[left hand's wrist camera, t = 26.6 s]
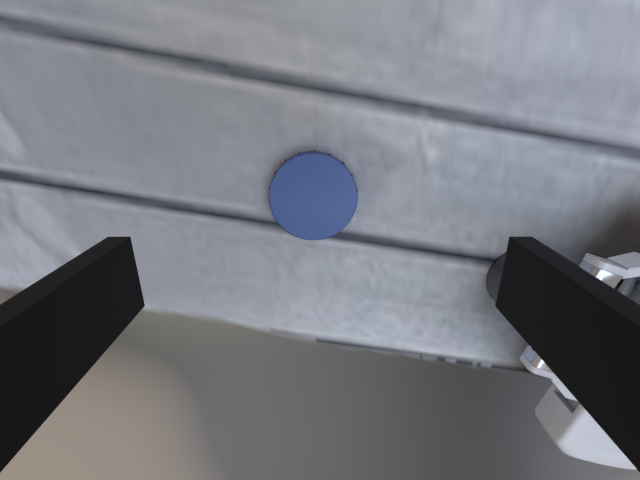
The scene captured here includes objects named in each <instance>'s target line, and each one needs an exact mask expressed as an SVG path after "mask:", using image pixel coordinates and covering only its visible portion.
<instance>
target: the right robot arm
mask: <svg viewBox="0 0 640 480" xmlns="http://www.w3.org/2000/svg"><path fill="white" fill-rule="evenodd" d="M579 267H581V268H582V269H584V270H585V271H587V272H588V273H590V274H592V275H593V276H595V277H596V278H598V279H600V280H601V281H603V282H604V283H606V284H608V285H609V286H611V287H612V288H615V287H616V286H617V284H618V283H619V282H620V280H621V279H625V280H624V281H623V283H622V284H621V286H620V287H619V289H618V290H617V291H619V292H620V293H622V294H623V295H625V296H627V297H628V298H630V299H631V300H633V301H635V302H636V303H638V304H639V305H640V253H637V252H631V253H626V254H622V255H617V256H613V257H608V258H607V259H604V258H601V257H598V256H595V255H592V254H589V253H586V255H585V256H584V258H583V259H582V261H581V263H580V264H579ZM519 359H520V361H521V362H522V363H523V364H524V366H525V367H526V368H527V369H528V370H529V371H531V372H532V373H534V374H537V375H540V376H543V377H547V378H549V379H550V381H551V382H552V385H551V386H550V387H549V389H548V390H547V392H546V393H545V395H544V396H543V397H542V399H541V400H540V402H539V403H538V404H537V406H536V407H535V415H536V417H537V419H538V421H539V423H540V424H541V426H542V428H543V429H544V431H545V432H546V434H547V435H548V436H549V438H550V439H551V440H552V442H553V443H554V444H555V445H556V446H557V447H558V448H559V449H560V450H561V451H562V452H564V453H565V454H567V455H569V456H572V457H575V458H578V459H582V460H585V461H589V462H593V463H597V464H602V465H607V466H612V467H617V468H623V469H636V467H635V466H634V465H633V464H632V463H631V462H630V461H629V459H628V458H627V457H626V456H625V455H624V454H623V452H622V451H621V450H620V449H619V448H618V447H617V446H616V444H615V443H614V442H613V441H612V440H611V439H610V437H609V436H608V435H607V434H606V433H605V432H604V431H603V429H602V428H601V427H600V426H599V425H598V424H597V422H596V421H595V420H594V419H593V418H592V417H591V416H590V414H589V413H588V412H587V411H586V410H585V409H584V407H583V406H582V405H581V404H580V403H579V402H578V401H577V399H576V398H575V397H574V396H573V395H572V394H571V392H570V391H569V390H568V389H567V388H566V387H565V386H564V384H563V383H562V382H561V381H560V380H559V379H558V377H557V376H556V375H555V374H554V373H553V372H552V371H551V369H550V368H549V367H548V366H547V365H546V364H545V362H544V361H543V360H542V359H541V358H540V357H539V356H538V354H537V353H536V352H535V351H534V350H533V349H532V347H531V346H530V345H529V344H528V346H527V347H526V349H525V350H524V352H523V353H522V355H521V356H520V358H519Z"/></svg>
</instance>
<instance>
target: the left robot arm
mask: <svg viewBox="0 0 640 480" xmlns="http://www.w3.org/2000/svg"><path fill="white" fill-rule="evenodd" d="M144 306H145V305H144V300H143V295H142V291H141V286H140V281H139V276H138V271H137V267H136V262H135V257H134V252H133V247H132V243H131V238H130V237H107V238H106V239H104V240H102V241H101V242H99V243H98V244H96V245H94V246H93V247H91V248H90V249H88V250H86V251H85V252H83V253H82V254H80V255H79V256H77V257H75V258H74V259H72V260H71V261H69V262H67V263H66V264H64V265H63V266H61V267H59V268H58V269H56V270H55V271H53V272H52V273H50V274H48V275H47V276H45V277H44V278H42V279H40V280H39V281H37V282H36V283H34V284H32V285H31V286H29V287H28V288H26V289H25V290H23V291H21V292H20V293H18V294H17V295H15V296H13V297H12V298H10V299H9V300H7V301H5V302H4V303H2V304H1V305H0V472H1V471H2V470H3V469H4V467H5V466H6V465H7V464H8V463H9V462H10V461H11V459H12V458H13V457H14V456H15V455H16V454H17V452H18V451H19V450H20V449H21V448H22V447H23V445H24V444H25V443H26V442H27V441H28V440H29V439H30V437H31V436H32V435H33V434H34V433H35V432H36V431H37V429H38V428H39V427H40V426H41V425H42V424H43V422H44V421H45V420H46V419H47V418H48V417H49V416H50V414H51V413H52V412H53V411H54V410H55V409H56V407H57V406H58V405H59V404H60V403H61V402H62V401H63V399H64V398H65V397H66V396H67V395H68V394H69V392H70V391H71V390H72V389H73V388H74V387H75V386H76V384H77V383H78V382H79V381H80V380H81V379H82V377H83V376H84V375H85V374H86V373H87V372H88V371H89V369H90V368H91V367H92V366H93V365H94V364H95V362H96V361H97V360H98V359H99V358H100V357H101V356H102V354H103V353H104V352H105V351H106V350H107V349H108V347H109V346H110V345H111V344H112V343H113V342H114V340H115V339H116V338H117V337H118V336H119V335H120V334H121V333H122V331H123V330H124V329H125V328H126V327H127V326H128V324H129V323H130V322H131V321H132V320H133V319H134V318H135V316H136V315H137V314H138V313H139V312H140V311H141V309H142V308H143V307H144ZM495 306H496V307H497V308H498V309H499V311H500V312H501V313H502V314H503V315H504V316H505V318H506V319H507V320H508V321H509V322H510V323H511V324H512V326H513V327H514V328H515V329H516V330H517V331H518V333H519V334H520V335H521V336H522V337H523V338H524V339H525V341H526V342H527V343H528V344H529V345H530V346H531V347H532V349H533V350H534V351H535V352H536V353H537V354H538V356H539V357H540V358H541V359H542V360H543V361H544V362H545V364H546V365H547V366H548V367H549V368H550V369H551V371H552V372H553V373H554V374H555V375H556V376H557V377H558V379H559V380H560V381H561V382H562V383H563V384H564V386H565V387H566V388H567V389H568V390H569V391H570V392H571V394H572V395H573V396H574V397H575V398H576V399H577V401H578V402H579V403H580V404H581V405H582V406H583V407H584V409H585V410H586V411H587V412H588V413H589V414H590V416H591V417H592V418H593V419H594V420H595V421H596V422H597V424H598V425H599V426H600V427H601V428H602V429H603V431H604V432H605V433H606V434H607V435H608V436H609V437H610V439H611V440H612V441H613V442H614V443H615V444H616V446H617V447H618V448H619V449H620V450H621V451H622V452H623V454H624V455H625V456H626V457H627V458H628V459H629V461H630V462H631V463H632V464H633V465H634V466H635V467H636V469H637V470H638V471H639V472H640V305H639V304H638V303H636V302H635V301H633V300H631V299H630V298H628V297H627V296H625V295H623V294H622V293H620V292H619V291H617V290H615V289H614V288H612V287H611V286H609V285H608V284H606V283H604V282H603V281H601V280H600V279H598V278H596V277H595V276H593V275H592V274H590V273H588V272H587V271H585V270H584V269H582V268H581V267H579V266H577V265H576V264H574V263H573V262H571V261H569V260H568V259H566V258H565V257H563V256H561V255H560V254H558V253H557V252H555V251H554V250H552V249H550V248H549V247H547V246H546V245H544V244H542V243H541V242H539V241H538V240H536V239H534V238H533V237H510V238H509V243H508V247H507V252H506V257H505V262H504V267H503V271H502V276H501V281H500V286H499V291H498V295H497V300H496V305H495Z"/></svg>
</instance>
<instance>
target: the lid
mask: <svg viewBox="0 0 640 480" xmlns="http://www.w3.org/2000/svg"><path fill="white" fill-rule="evenodd" d="M269 189H270V190H269V204H270V208H271V211H272V214H273V215H274V217H275V219H276V221H277V222H278V223H279V225H280V226H281V227H282V228H283V229H284V230H286V231H287V232H288V233H290V234H292V235H294V236H296V237H298V238H301V239H306V240H320V239H325V238H328V237H331V236H333V235H335V234H337V233H338V232H340V231H341V230H342V229H343V228H344V227H345V226H346V225H347V224H348V223H349V222H350V220H351V218H352V217H353V214H354V212H355V209H356V205H357V192H358V191H357V189H356V185H355V182H354V179H353V175H352V174H350V172H349V170H348V169H347V168H346V166H345V165H344V163H343V162H341V161H339V160H338V159H337V158H335V157H333V156H332V155H331V154H330V153H329V154H327V153H323V152H316V150H314V151H309V152H303V153H300V152H299V154H297V155H295V156H293V157H291V158H290V159H288V160H287V159H286V160H285V163H283V165H282V166H281V167H280V168H279V170H278V171H276V172H275V176H274V178H273V180H272V183H271V185H270V187H269Z"/></svg>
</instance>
